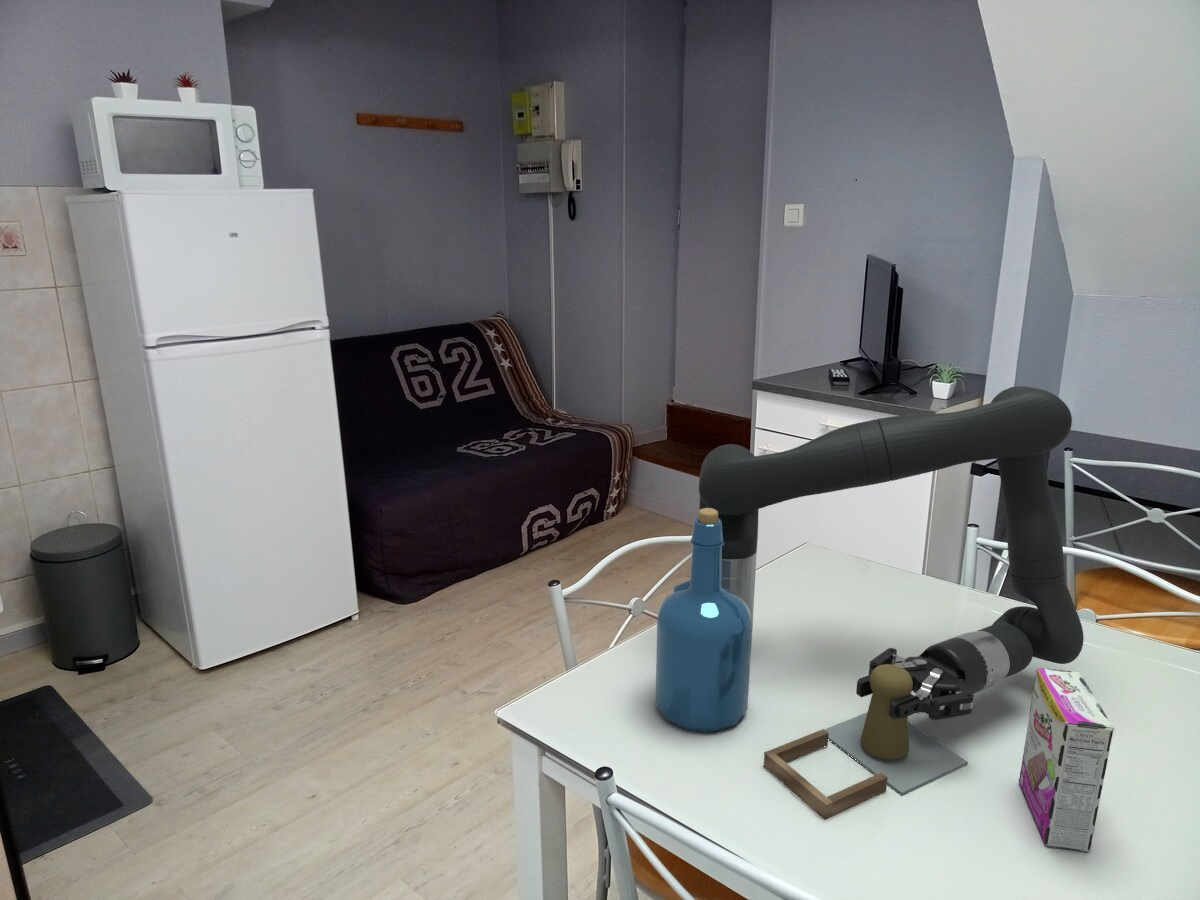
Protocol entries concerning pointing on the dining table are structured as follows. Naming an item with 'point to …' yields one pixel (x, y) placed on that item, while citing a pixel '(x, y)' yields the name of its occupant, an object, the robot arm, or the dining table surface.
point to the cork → (887, 713)
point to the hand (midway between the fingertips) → (875, 700)
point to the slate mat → (906, 772)
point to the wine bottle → (703, 641)
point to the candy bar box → (1065, 758)
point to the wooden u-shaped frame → (805, 790)
